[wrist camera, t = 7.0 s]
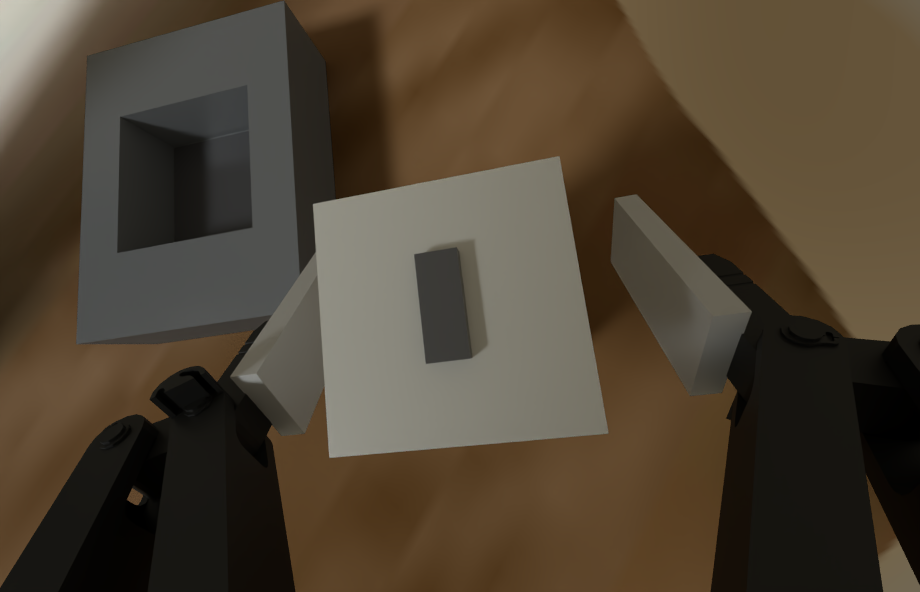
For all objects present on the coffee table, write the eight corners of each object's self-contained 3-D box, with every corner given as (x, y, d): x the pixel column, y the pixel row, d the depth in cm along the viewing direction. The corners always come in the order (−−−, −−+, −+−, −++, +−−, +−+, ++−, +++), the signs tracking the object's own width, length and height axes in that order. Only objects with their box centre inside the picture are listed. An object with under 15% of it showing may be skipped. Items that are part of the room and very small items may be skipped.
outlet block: (344, 317, 20) (301, 310, 16) (156, 344, 21) (76, 344, 17) (325, 61, 22) (284, 0, 18) (158, 103, 24) (87, 55, 20)
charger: (548, 373, 18) (613, 438, 6) (449, 384, 18) (320, 463, 6) (532, 275, 18) (561, 147, 6) (438, 289, 19) (304, 198, 7)
